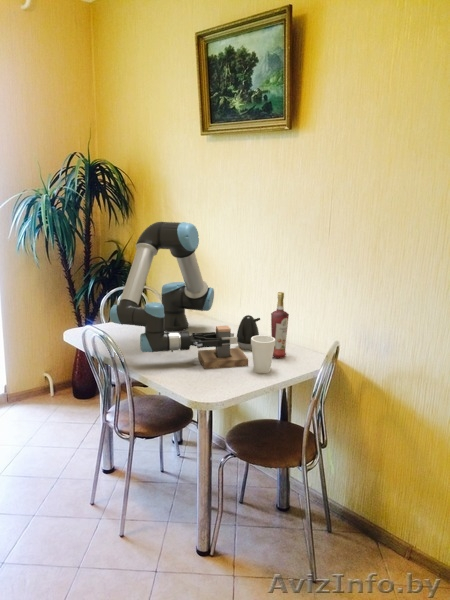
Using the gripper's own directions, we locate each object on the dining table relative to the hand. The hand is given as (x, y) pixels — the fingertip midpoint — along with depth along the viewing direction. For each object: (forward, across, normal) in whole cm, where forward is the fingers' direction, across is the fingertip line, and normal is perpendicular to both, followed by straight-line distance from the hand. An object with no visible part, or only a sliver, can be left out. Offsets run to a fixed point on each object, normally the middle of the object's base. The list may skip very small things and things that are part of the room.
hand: (235, 338), depth 198 cm
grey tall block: (-5, 0, -7) cm, 9 cm away
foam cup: (+8, +12, -10) cm, 18 cm away
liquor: (+20, -2, -10) cm, 22 cm away
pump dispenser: (+10, -15, -10) cm, 21 cm away
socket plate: (-5, 0, -10) cm, 11 cm away
